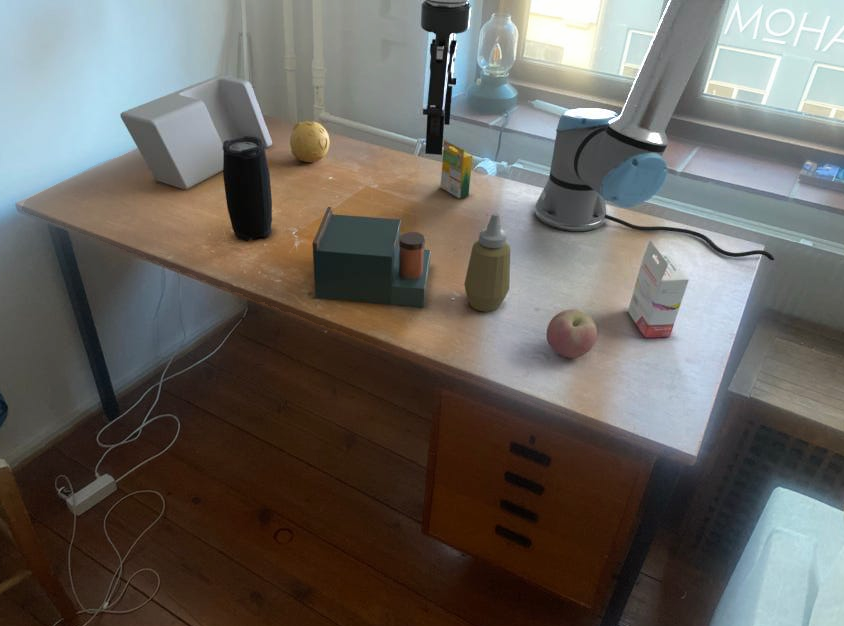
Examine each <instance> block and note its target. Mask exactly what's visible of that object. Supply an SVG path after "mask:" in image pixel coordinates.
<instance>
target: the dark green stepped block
mask: <svg viewBox="0 0 844 626" xmlns="http://www.w3.org/2000/svg"><path fill="white" fill-rule="evenodd" d="M401 229H402V219H399V218H398V219H397V218H386V217H373V216H361V215H360V216H359V215H348V214H347V215H346V214H333V207H332V206H327V208H326V210H325V213H324V215H323V218H322V220H321V221H320V224H319V227H318V229H317V231H316V234H315V236H314V238H313V241H312V244H311V245H312V257H313V258H312V260H313V261H312V263H313V279H314V281H313V282H314V297H315V299H324V300H337V301H347V302H358V303H369V304H371V303H372V304H380V305H391V306H392V305H394V306H403V307H404V306H405V307H417V308H424V307H425V301H426V294H427V289H428V288H427V287H428V281H429V274H430V268H431V254H432V251H431V249H424V258H423V274H422V276H421V277H419V278H416V279H406V278H403V277H402V276H400V274H399V249H400V245H399V237H400V235H401V233H402V231H401Z"/></svg>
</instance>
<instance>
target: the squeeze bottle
mask: <svg viewBox="0 0 844 626" xmlns="http://www.w3.org/2000/svg"><path fill="white" fill-rule="evenodd" d="M500 217H501V216H500V213H498V212H492V213H491V216H490V218H489V222H488V224H487V227H486V228H485V227H484V228H483V229H481V230H480V231H479V236H478V240H476V241H474V242H473V245H472V248H471V251H470V257H469V260H468V261H469V262H468V264H467V265H468V267H467V270H466V275H465V279H464V284H463V285H464V291H465V294H466V297H467V301H468V304H469V306H470V307H471V308H473V309H475V310H476V311H480V312H489V313H490V312H493V311H497V310H498V309H500V308H501V305H502V304H503V302H504V300H505V298H506V296H507V294H508V293H509V290H510V281H511V279H510V278H511V277H510V275H511V246H510V244H509V243H507V238H508V235H507V232H506V231H505V230H503V229H502V227H501V218H500Z"/></svg>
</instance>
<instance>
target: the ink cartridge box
mask: <svg viewBox="0 0 844 626" xmlns="http://www.w3.org/2000/svg"><path fill="white" fill-rule="evenodd" d="M641 259H642V260H641V263H640V266H639V270H638V273H637V277H636V280H635V284H634V288H633V292H632V295H631V298H630V302H629V306H628V309H627V312H628V314H629V315H630V317H631V319H632V320H633V322H634V324H635V325H636V326H637V328H638V330H639V331H640V333H641V335H642V336H643V338H645V339H646V338H647V339H649V338H670V337H671V335H672V332H673V329H674V326H675V323H676V319H677V316H678V314H679V311H680V308H681V304H682V302H683V298H684V296H685V293H686V290H687V287H688V285H689V284H688V283H689V281H690V280H689V277H688V276H687V275H686V273H685V272H684V271H683V270H682V269H681V267H680V266H679V265H678V264H677V262H676V261H675V259H673V257H672V256H671V255H670V254H662V253H661V252H660V250H659V249H658V248H657V246H656V245H655V244H654V243H653V241H652V240H649V241H648V244H647V247H646V249H645V251H644V254H643V256H642V258H641Z"/></svg>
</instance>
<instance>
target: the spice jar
mask: <svg viewBox="0 0 844 626" xmlns="http://www.w3.org/2000/svg"><path fill="white" fill-rule="evenodd" d="M399 245H400V249H399V274H400V276H402V277H403V278H406V279H416V278H419V277H421V276H422V274H423V258H424V250H425V245H426V237H425V235H423V234H422V233H420V232H417V231H407V232H403V233H402V234H400V237H399Z"/></svg>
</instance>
